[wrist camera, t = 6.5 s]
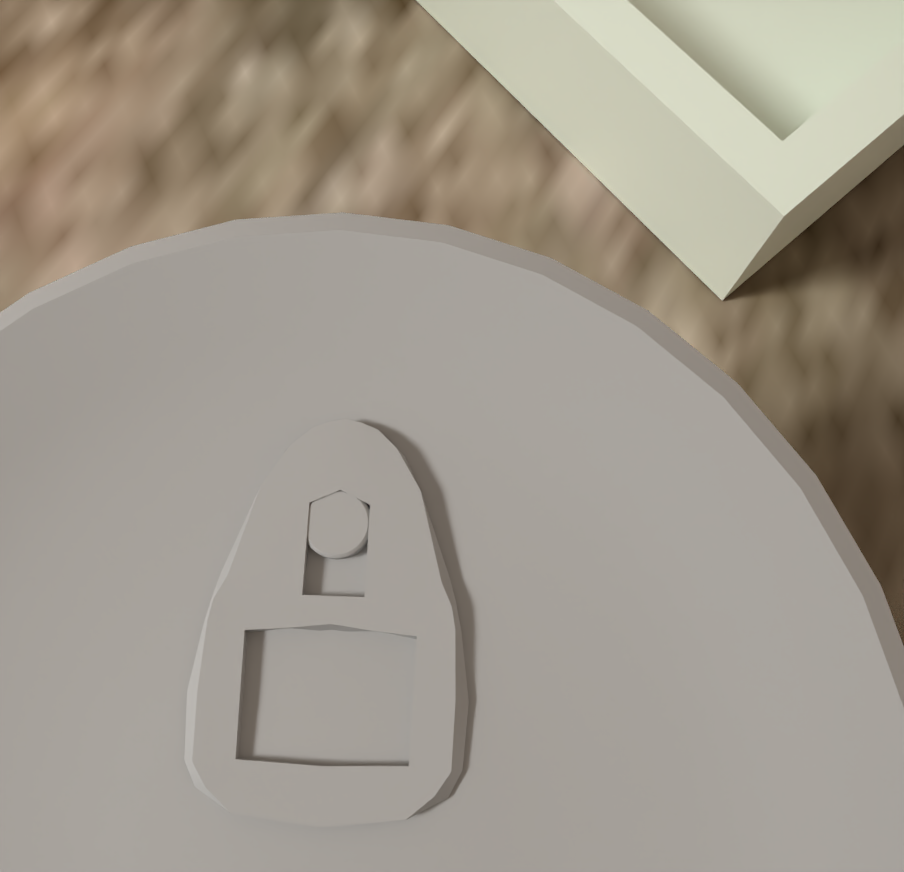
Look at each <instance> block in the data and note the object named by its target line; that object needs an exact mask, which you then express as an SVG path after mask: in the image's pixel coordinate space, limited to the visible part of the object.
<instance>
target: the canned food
mask: <svg viewBox="0 0 904 872" xmlns="http://www.w3.org/2000/svg"><path fill="white" fill-rule="evenodd" d="M0 872H904V646H903V643H902V640H901V638H900V635H899V632H898V630H897V627H896V624H895V622H894V619H893V616H892V614H891V611H890V608H889V605H888V603H887V600H886V597H885V595H884V592H883V589H882V587H881V585H880V583H879V581H878V580H877V578H876V576H875V575H874V573H873V571H872V570H871V568H870V566H869V564H868V563H867V561H866V559H865V558H864V556H863V554H862V552H861V551H860V549H859V547H858V546H857V544H856V542H855V541H854V539H853V537H852V535H851V534H850V532H849V530H848V529H847V527H846V525H845V523H844V522H843V520H842V518H841V517H840V515H839V513H838V512H837V510H836V508H835V506H834V505H833V503H832V501H831V500H830V498H829V496H828V494H827V493H826V491H825V489H824V488H823V486H822V484H821V483H820V481H819V479H818V477H817V476H816V474H815V473H814V472H813V471H812V470H811V469H810V467H809V466H808V465H807V464H806V463H805V462H804V460H803V459H802V458H801V457H800V456H799V455H798V453H797V452H796V451H795V450H794V449H793V448H792V446H791V445H790V444H789V443H788V442H787V441H786V439H785V438H784V437H783V436H782V435H781V434H780V432H779V431H778V430H777V429H776V428H775V426H774V425H773V424H772V423H771V422H770V421H769V419H768V418H767V417H766V416H765V415H764V414H763V412H762V411H761V410H760V409H759V408H758V407H757V405H756V404H755V403H754V402H753V401H752V400H751V398H750V397H749V396H748V395H747V394H746V393H745V391H744V390H743V389H742V388H741V387H740V386H739V384H738V383H737V382H735V381H734V380H733V379H732V378H730V377H729V376H728V375H727V374H725V373H724V372H723V371H722V370H721V369H719V368H718V367H717V366H716V365H714V364H713V363H712V362H711V361H709V360H708V359H707V358H706V357H705V356H703V355H702V354H701V353H700V352H698V351H697V350H696V349H695V348H693V347H692V346H691V345H690V344H689V343H687V342H686V341H685V340H684V339H682V338H681V337H680V336H679V335H677V334H676V333H675V332H674V331H673V330H671V329H670V328H669V327H668V326H666V325H665V324H664V323H663V322H661V321H660V320H659V319H658V318H657V317H655V316H654V315H653V314H652V313H650V312H649V311H648V310H646V309H644V308H642V307H640V306H639V305H637V304H635V303H633V302H631V301H629V300H628V299H626V298H624V297H622V296H620V295H618V294H616V293H615V292H613V291H611V290H609V289H607V288H605V287H604V286H602V285H600V284H598V283H596V282H594V281H592V280H591V279H589V278H587V277H585V276H583V275H581V274H580V273H578V272H576V271H574V270H572V269H570V268H569V267H567V266H565V265H563V264H561V263H559V262H557V261H556V260H554V259H552V258H549V257H546V256H543V255H540V254H537V253H534V252H531V251H527V250H524V249H521V248H518V247H515V246H512V245H509V244H506V243H502V242H499V241H496V240H493V239H490V238H487V237H484V236H480V235H477V234H474V233H471V232H468V231H465V230H462V229H459V228H455V227H452V226H449V225H442V224H434V223H425V222H417V221H409V220H401V219H392V218H384V217H376V216H367V215H359V214H351V213H329V214H313V215H298V216H283V217H268V218H253V219H238V220H233V221H229V222H225V223H221V224H217V225H213V226H209V227H206V228H202V229H198V230H194V231H190V232H186V233H182V234H178V235H174V236H170V237H166V238H162V239H158V240H154V241H151V242H147V243H143V244H139V245H135V246H131V247H129V248H127V249H124V250H122V251H120V252H118V253H116V254H113V255H111V256H109V257H107V258H105V259H102V260H100V261H98V262H96V263H94V264H91V265H89V266H87V267H85V268H83V269H80V270H78V271H76V272H74V273H72V274H69V275H67V276H65V277H63V278H61V279H58V280H56V281H54V282H52V283H50V284H47V285H45V286H43V287H41V288H39V289H36V290H34V291H32V292H30V293H28V294H27V295H25V296H24V297H22V298H21V299H19V300H18V301H16V302H15V303H13V304H12V305H11V306H9V307H8V308H6V309H5V310H3V311H2V312H0Z"/></svg>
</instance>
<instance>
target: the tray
mask: <svg viewBox="0 0 904 872" xmlns="http://www.w3.org/2000/svg"><path fill="white" fill-rule="evenodd" d="M416 1H417V2H418V3H419V4H420V5H421V6H422V7H423V8H424V9H425V10H426V11H427V12H428V13H429V14H430V15H431V16H432V17H433V18H434V19H435V20H437V21H438V22H439V23H440V24H441V25H442V26H443V27H444V28H445V29H446V30H447V31H448V32H449V33H450V34H451V35H452V36H453V37H454V38H455V39H456V40H457V41H458V42H459V43H460V44H461V45H462V46H463V47H464V48H465V49H466V50H467V51H468V52H469V53H470V54H471V55H472V56H473V57H474V58H475V59H476V60H477V61H478V62H479V63H480V64H481V65H482V66H483V67H484V68H485V69H486V70H487V71H489V72H490V73H491V74H492V75H493V76H494V77H495V78H496V79H497V80H498V81H499V82H500V83H501V84H502V85H503V86H504V87H505V88H506V89H507V90H508V91H509V92H510V93H511V94H512V95H513V96H514V97H515V98H516V99H517V100H518V101H519V102H520V103H521V104H522V105H523V106H524V107H525V108H526V109H527V110H528V111H529V112H530V113H531V114H532V115H533V116H534V117H535V118H536V119H537V120H538V121H539V122H540V123H542V124H543V125H544V126H545V127H546V128H547V129H548V130H549V131H550V132H551V133H552V134H553V135H554V136H555V137H556V138H557V139H558V140H559V141H560V142H561V143H562V144H563V145H564V146H565V147H566V148H567V149H568V150H569V151H570V152H571V153H572V154H573V155H574V156H575V157H576V158H577V159H578V160H579V161H580V162H581V163H582V164H583V165H584V166H585V167H586V168H587V169H588V170H589V171H590V172H591V173H592V174H593V175H595V176H596V177H597V178H598V179H599V180H600V181H601V182H602V183H603V184H604V185H605V186H606V187H607V188H608V189H609V190H610V191H611V192H612V193H613V194H614V195H615V196H616V197H617V198H618V199H619V200H620V201H621V202H622V203H623V204H624V205H625V206H626V207H627V208H628V209H629V210H630V211H631V212H632V213H633V214H634V215H635V216H636V217H637V218H638V219H639V220H640V221H641V222H642V223H643V224H644V225H645V226H647V227H648V228H649V229H650V230H651V231H652V232H653V233H654V234H655V235H656V236H657V237H658V238H659V239H660V240H661V241H662V242H663V243H664V244H665V245H666V246H667V247H668V248H669V249H670V250H671V251H672V252H673V253H674V254H675V255H676V256H677V257H678V258H679V259H680V260H681V261H682V262H683V263H684V264H685V265H686V266H687V267H688V268H689V269H690V270H691V271H692V272H693V273H694V274H695V275H696V276H697V277H698V278H700V279H701V280H702V281H703V282H704V283H705V284H706V285H707V286H708V287H709V288H710V289H711V290H712V291H713V292H714V293H715V294H716V295H717V296H718V297H719V298H720V299H721V300H722V301H723V300H724V299H725V298H726V297H727V296H728V295H730V294H731V293H732V292H733V291H734V290H735V289H737V288H738V287H739V286H740V285H741V284H742V283H744V282H745V281H746V280H747V279H748V278H749V277H750V276H752V275H753V274H754V273H755V272H756V271H757V270H759V269H760V268H761V267H762V266H763V265H764V264H766V263H767V262H768V261H769V260H770V259H771V258H773V257H774V256H775V255H776V254H777V253H778V252H780V251H781V250H782V249H783V248H784V247H785V246H787V245H788V244H789V243H790V242H791V241H792V240H794V239H795V238H796V237H797V236H798V235H799V234H801V233H802V232H803V231H804V230H805V229H806V228H808V227H809V226H810V225H811V224H812V223H813V222H815V221H816V220H817V219H818V218H819V217H820V216H822V215H823V214H824V213H825V212H826V211H827V210H829V209H830V208H831V207H832V206H833V205H834V204H836V203H837V202H838V201H839V200H840V199H841V198H843V197H844V196H845V195H846V194H847V193H848V192H850V191H851V190H852V189H853V188H854V187H855V186H856V185H858V184H859V183H860V182H861V181H862V180H863V179H865V178H866V177H867V176H868V175H869V174H870V173H872V172H873V171H874V170H875V169H876V168H877V167H879V166H880V165H881V164H882V163H883V162H884V161H886V160H887V159H888V158H889V157H890V156H891V155H893V154H894V153H895V152H896V151H897V150H898V149H900V148H901V147H902V146H903V145H904V0H416Z"/></svg>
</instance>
